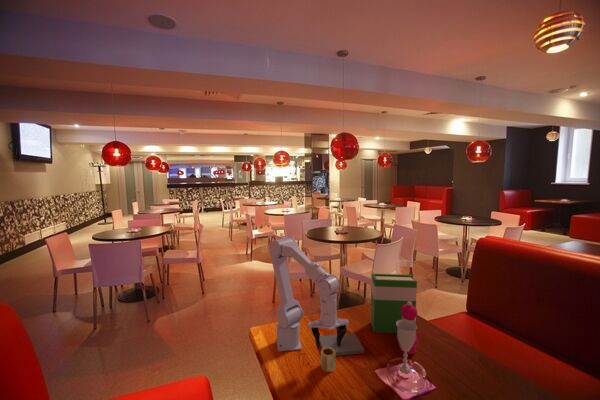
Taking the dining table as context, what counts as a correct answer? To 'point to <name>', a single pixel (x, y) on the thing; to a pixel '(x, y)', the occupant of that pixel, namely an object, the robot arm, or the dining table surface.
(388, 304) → the hardback book
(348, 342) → the pin board
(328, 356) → the wooden collar
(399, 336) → the chalice
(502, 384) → the dining table surface
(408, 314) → the pepper mill
